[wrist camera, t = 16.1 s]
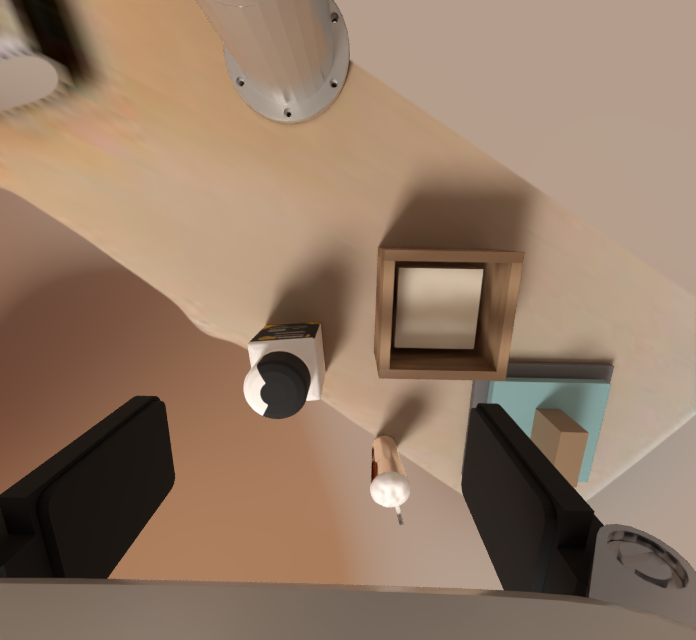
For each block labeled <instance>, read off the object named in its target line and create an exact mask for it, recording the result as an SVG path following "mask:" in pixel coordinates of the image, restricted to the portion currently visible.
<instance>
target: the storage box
mask: <svg viewBox="0 0 696 640" xmlns="http://www.w3.org/2000/svg"><path fill="white" fill-rule="evenodd" d="M523 259H524V252H515V251H504V250H492V249H446V248H390V247H378V264H377V289H376V315H375V340H374V354H375V359H376V365H377V370H378V375H379V378H390V379H438V380H486V381H505V379H506V372H507V366H508V359H509V352H510V346H511V339H512V332H513V326H514V319H515V312H516V306H517V299H518V292H519V285H520V279H521V272H522V265H523Z"/></svg>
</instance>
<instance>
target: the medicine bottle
mask: <svg viewBox="0 0 696 640" xmlns="http://www.w3.org/2000/svg"><path fill="white" fill-rule="evenodd" d="M248 350H249V357H250V363H251V370H250V371H249V373H248V374H247V376H246V378H245V381H244V394H245V398H246V400H247V402H248V404H249V405H250V406H251V407H252V408H253V409H254V410H255V411H256V412H257V413H259V414H261V415H262V416H265V417H268V418H272V419H283V418H287V417H290V416H292V415H294V414H296V413H297V412H298V411H299V410H300V409H301V408H302V407H303V405H304V404H305V401H307V400H319V399H320V398H321V394H322V389H323V384H324V379H325V373H326V371H325V361H324V351H323V341H322V331H321V324H320V323H319V322H312V323H298V324H284V325H270V326H265V327H264V328H263V329H262V330H261V331H260V332H259V333H258V334H257V335H256V336H255V337H254V338H253V339H252V340H251V341H250V342H249V343H248Z"/></svg>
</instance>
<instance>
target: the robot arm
mask: <svg viewBox="0 0 696 640" xmlns="http://www.w3.org/2000/svg"><path fill="white" fill-rule="evenodd" d="M195 1H196V2H197V4H198V5H199V7H200V8H201V10H202V11H203V13H204V14H205V16H206V17H207V19H208V20H209V22H210V23H211V25H212V26H213V28H214V29H215V31H216V32H217V34H218V35H219V37H220V38H221V40H222V41H223V43H224V57H225V63H226V67H227V70H228V73H229V76H230V79H231V81H232V83H233V85H234V87H235V89H236V90H237V92H238V93H239V94H240V96H241V97H242V98H243V100H244V101H245V102H246V103H247V104H248V105H249V106H250V107H251V108H252V109H253V110H254V111H256V112H257V113H258V114H259V115H261V116H263V117H265V118H267V119H269V120H271V121H275V122H278V123H282V124H297V123H304V122H306V121H309V120H312V119H314V118H316V117H317V116H319V115H320V114H322V113H324V112H325V111H326V110H327V109H328V108H329V107H330V106H331V105H332V104H333V102H334V101H335V100H336V98H337V97H338V95H339V94H340V92H341V90H342V87H343V85H344V83H345V80H346V76H347V72H348V67H349V57H350V54H349V39H348V32H347V28H346V25H345V22H344V19H343V16H342V14H341V13H340V10H339V8H338V7H337V5H336V3H335V2H334V1H333V0H195ZM333 21H336V22H337V23H332V22H333ZM242 83H244V85H243V86H241V84H242ZM333 84H335V85H336V86H337V87H335V88H333V87H332V85H333ZM289 113H290V114H291V116H290V117H287V115H288V114H289ZM174 481H175V472H174V465H173V458H172V451H171V443H170V436H169V428H168V421H167V414H166V407H165V404H164V402H162V401H160V399H159V398H158V397H157V396H135V397H133V398H132V399H130V400H129V401H128V402H126V403H125V404H124V405H122V406H121V407H119V408H118V409H117V410H115V411H114V412H113V413H111V414H110V415H109V416H107V417H106V418H105V419H103V420H102V421H100V422H99V423H98V424H96V425H95V426H93V427H92V428H91V429H89V430H88V431H87V432H85V433H84V434H83V435H81V436H80V437H79V438H77V439H76V440H74V441H73V442H72V443H71V444H69V445H68V446H66V447H65V448H63V449H62V450H61V451H59V452H58V453H57V454H55V455H54V456H52V457H51V458H50V459H48V460H47V461H46V462H44V463H43V464H41V465H40V466H39V467H37V468H36V469H35V470H33V471H32V472H31V473H29V474H28V475H26V476H25V477H24V478H22V479H21V480H20V481H18V482H17V483H16V484H14V485H13V486H11V487H10V488H9V489H7V490H6V491H5V492H3V493H2V494H0V640H696V571H695V570H694V569H693V568H692V566H691V565H690V564H689V563H688V561H687V560H685V559H684V558H683V557H682V556H681V555H680V554H679V553H678V552H677V551H675V550H674V549H673V548H671V547H670V546H668V545H667V544H665V543H664V542H663V541H661V540H660V539H657V538H656V537H654V536H652V535H650V534H648V533H646V532H644V531H641V530H638V529H636V528H633V527H630V526H625V525H619V524H609V525H605V526H604V525H603V524H602V523H601V522H600V521H599V519H598V518H597V517H596V516H595V515H594V511H593V509H592V508H591V507H590V506H589V505H588V504H587V503H586V501H585V500H584V499H583V498H582V497H581V496H580V495H579V494H578V492H577V491H576V490H575V489H574V488H573V487H572V486H571V484H570V483H569V482H568V481H567V480H566V479H565V478H564V477H563V475H562V474H561V473H560V472H559V471H558V470H557V469H556V468H555V466H554V465H553V464H552V463H551V462H550V461H549V460H548V458H547V457H546V456H545V455H544V454H543V453H542V452H541V451H540V449H539V448H538V447H537V446H536V445H535V444H534V443H533V441H532V440H531V439H530V438H529V437H528V436H527V435H526V434H525V432H524V431H523V430H522V429H521V428H520V427H519V426H518V425H517V423H516V422H515V421H514V420H513V419H512V418H511V417H510V415H509V414H508V413H507V412H506V411H505V410H504V409H503V408H502V406H501V405H499V404H497V403H478V404H477V406H476V408H472V409H471V411H470V418H469V426H468V434H467V442H466V450H465V458H464V466H463V474H462V484H461V485H462V493H463V496H464V498H465V501H466V503H467V505H468V508H469V510H470V513H471V515H472V517H473V519H474V522H475V524H476V526H477V529H478V531H479V533H480V536H481V538H482V540H483V543H484V545H485V547H486V550H487V552H488V554H489V557H490V559H491V561H492V563H493V566H494V568H495V571H496V573H497V575H498V578H499V580H500V582H501V585H502V587H503V589H504V590H481V589H462V588H434V587H405V586H374V585H373V586H372V585H343V584H308V583H270V582H230V581H191V580H189V581H188V580H139V579H137V580H136V579H107V578H108V577H109V575H110V574H111V573H112V571H113V570H114V568H115V567H116V566H117V564H118V562H119V561H120V560H121V559H122V557H123V556H124V555H125V553H126V552H127V550H128V549H129V548H130V546H131V545H132V543H133V542H134V541H135V539H136V538H137V536H138V535H139V534H140V532H141V531H142V529H143V528H144V527H145V525H146V524H147V522H148V521H149V520H150V518H151V517H152V516H153V514H154V513H155V511H156V510H157V509H158V507H159V506H160V504H161V503H162V502H163V500H164V499H165V497H166V496H167V495H168V493H169V492H170V490H171V489H172V487H173V485H174Z"/></svg>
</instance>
